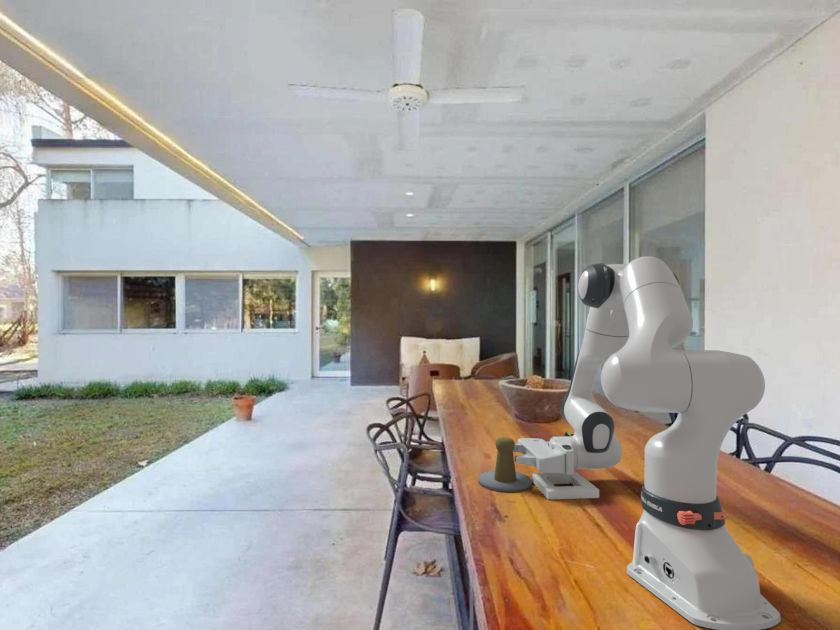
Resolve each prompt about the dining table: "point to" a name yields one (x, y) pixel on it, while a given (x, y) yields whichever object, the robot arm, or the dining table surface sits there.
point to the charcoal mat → (490, 483)
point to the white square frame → (577, 491)
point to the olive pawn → (505, 461)
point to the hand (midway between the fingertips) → (510, 454)
